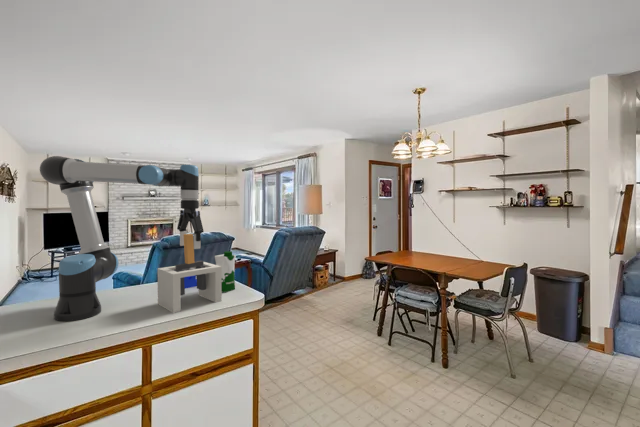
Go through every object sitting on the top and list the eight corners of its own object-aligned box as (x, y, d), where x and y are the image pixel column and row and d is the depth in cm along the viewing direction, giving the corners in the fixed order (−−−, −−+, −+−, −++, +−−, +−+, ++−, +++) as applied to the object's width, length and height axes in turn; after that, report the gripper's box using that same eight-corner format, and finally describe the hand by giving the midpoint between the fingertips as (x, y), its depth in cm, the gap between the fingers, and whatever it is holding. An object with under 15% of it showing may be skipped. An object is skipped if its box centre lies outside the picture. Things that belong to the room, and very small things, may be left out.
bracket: (182, 289, 167) (182, 272, 167) (176, 286, 173) (176, 269, 173) (215, 283, 180) (215, 267, 180) (208, 280, 186) (208, 265, 186)
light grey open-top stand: (173, 312, 132) (173, 274, 131) (157, 304, 143) (157, 268, 142) (221, 300, 148) (221, 266, 148) (204, 293, 159) (204, 261, 158)
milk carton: (224, 293, 161) (224, 253, 160) (212, 290, 165) (212, 251, 164) (237, 289, 168) (237, 251, 167) (225, 286, 173) (225, 249, 172)
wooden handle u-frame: (180, 295, 140) (177, 236, 138) (175, 293, 143) (172, 235, 141) (206, 289, 148) (203, 233, 147) (200, 287, 152) (198, 232, 150)
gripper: (211, 200, 138) (211, 249, 139) (185, 199, 155) (185, 243, 156) (194, 199, 133) (195, 251, 133) (169, 199, 149) (169, 244, 150)
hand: (189, 247), depth 145 cm, fingers open, 13 cm apart
